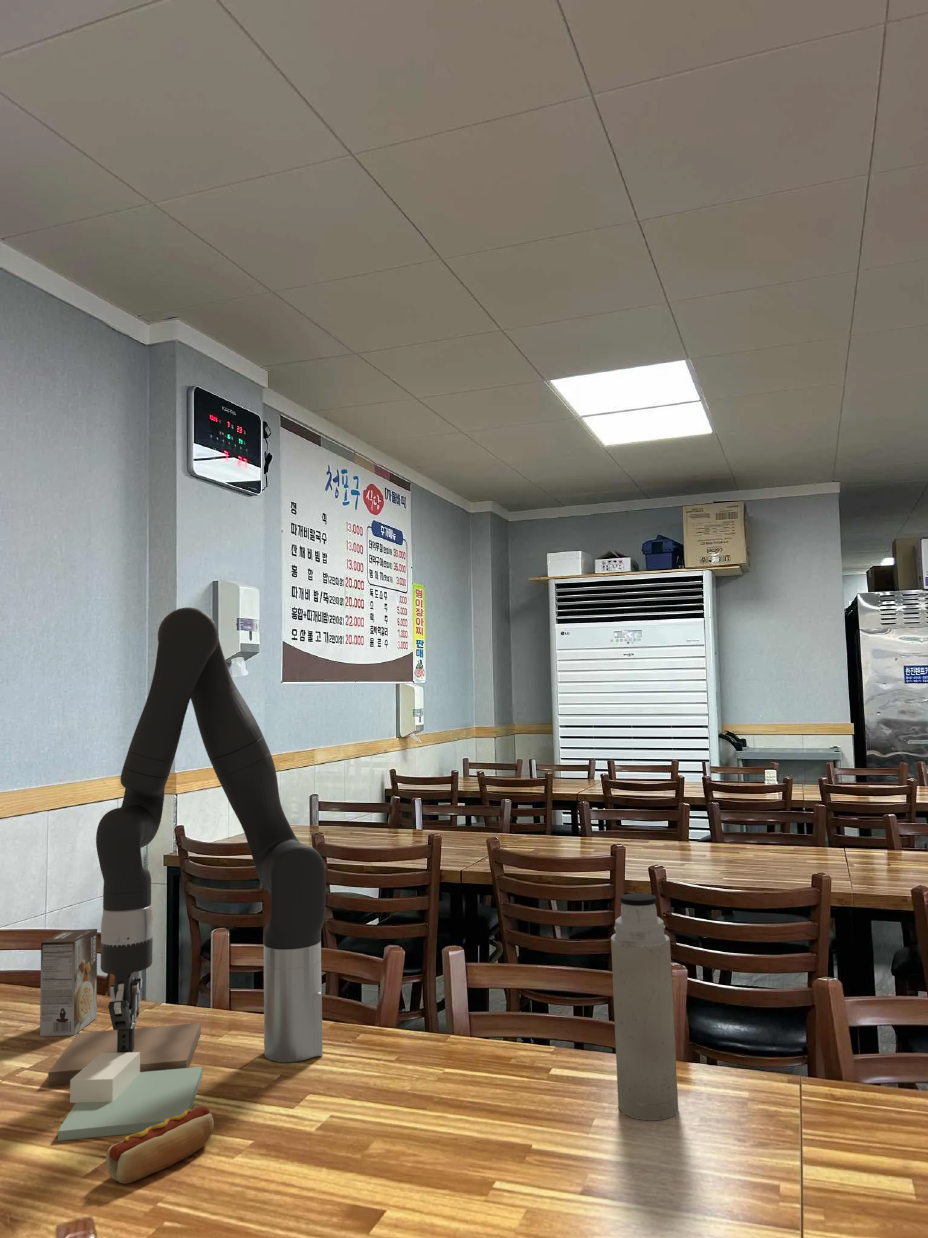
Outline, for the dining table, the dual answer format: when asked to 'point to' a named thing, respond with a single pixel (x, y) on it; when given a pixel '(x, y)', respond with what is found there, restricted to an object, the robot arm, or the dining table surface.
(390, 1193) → the dining table surface
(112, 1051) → the plate
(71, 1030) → the coffee box
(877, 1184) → the dining table surface
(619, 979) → the thermos bottle
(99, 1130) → the mat
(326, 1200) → the dining table surface
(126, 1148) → the food
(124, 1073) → the white rectangular block
